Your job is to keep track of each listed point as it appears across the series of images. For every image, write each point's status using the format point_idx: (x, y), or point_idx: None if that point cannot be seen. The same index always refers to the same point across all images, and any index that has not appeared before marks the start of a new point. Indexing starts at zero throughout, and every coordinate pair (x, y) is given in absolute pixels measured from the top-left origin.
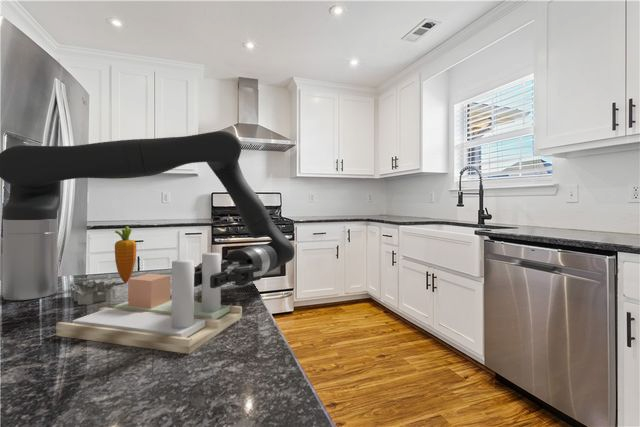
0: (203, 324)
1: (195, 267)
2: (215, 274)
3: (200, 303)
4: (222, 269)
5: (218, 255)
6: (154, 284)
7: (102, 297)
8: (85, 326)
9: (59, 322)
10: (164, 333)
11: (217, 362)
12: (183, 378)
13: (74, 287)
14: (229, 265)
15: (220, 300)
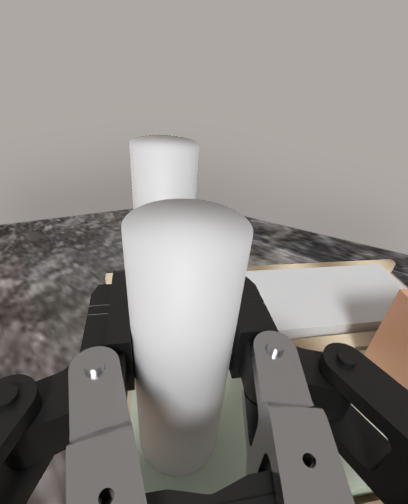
0: None
1: (370, 361)
2: (124, 285)
3: None
4: (227, 491)
5: (123, 223)
6: (402, 313)
7: None
8: (334, 263)
9: (392, 261)
10: None
11: (40, 289)
12: (75, 254)
13: None
14: (127, 445)
15: (142, 434)
